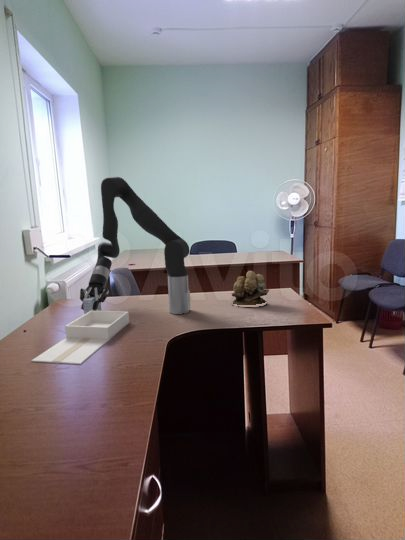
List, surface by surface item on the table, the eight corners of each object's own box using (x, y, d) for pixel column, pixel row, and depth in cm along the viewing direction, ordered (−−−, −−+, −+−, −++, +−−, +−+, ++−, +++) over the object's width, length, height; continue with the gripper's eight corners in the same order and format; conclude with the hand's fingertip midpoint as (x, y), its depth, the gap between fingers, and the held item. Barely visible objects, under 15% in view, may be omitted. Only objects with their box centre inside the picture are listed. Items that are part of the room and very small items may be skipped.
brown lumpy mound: (266, 301, 167) (267, 267, 164) (270, 308, 156) (271, 272, 152) (231, 301, 168) (230, 268, 165) (232, 308, 156) (232, 273, 153)
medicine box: (93, 319, 147) (91, 300, 146) (84, 318, 148) (82, 299, 147) (102, 313, 155) (100, 295, 153) (93, 313, 156) (91, 295, 154)
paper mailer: (129, 322, 141) (128, 311, 140) (80, 364, 103) (78, 349, 103) (92, 321, 144) (91, 310, 143) (31, 361, 107) (29, 346, 106)
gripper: (82, 273, 155) (70, 305, 146) (110, 273, 153) (100, 306, 143) (89, 281, 161) (77, 313, 152) (116, 281, 159) (106, 314, 149)
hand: (88, 309), depth 147 cm, fingers closed on medicine box, 4 cm apart
